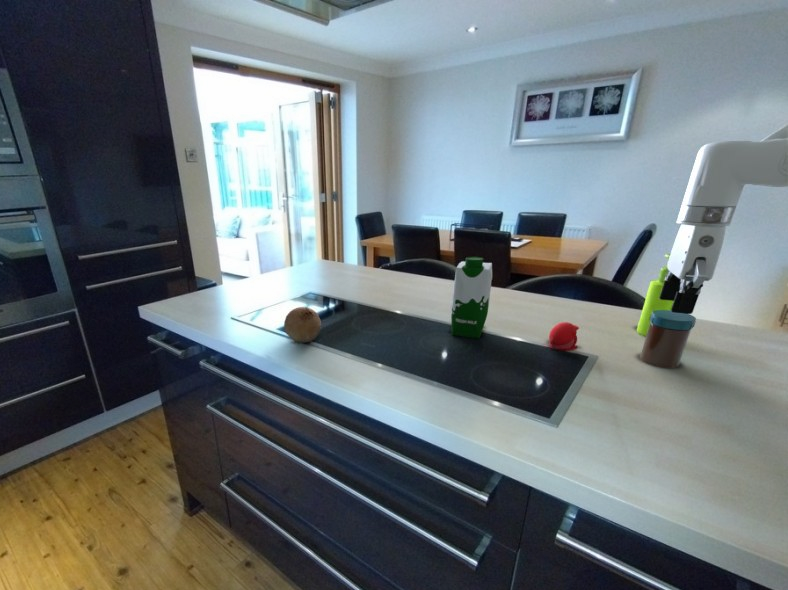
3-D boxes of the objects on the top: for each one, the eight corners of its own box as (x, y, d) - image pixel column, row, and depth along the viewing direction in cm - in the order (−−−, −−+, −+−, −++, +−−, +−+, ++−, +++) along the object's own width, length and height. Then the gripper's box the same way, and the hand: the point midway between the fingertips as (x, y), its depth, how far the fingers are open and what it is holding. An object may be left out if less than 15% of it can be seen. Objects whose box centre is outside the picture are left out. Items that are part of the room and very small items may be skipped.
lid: (686, 320, 81) (689, 312, 80) (698, 332, 75) (701, 323, 75) (646, 316, 84) (648, 308, 83) (653, 327, 78) (656, 318, 78)
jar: (672, 360, 85) (688, 314, 81) (681, 373, 79) (698, 325, 75) (636, 355, 87) (649, 310, 83) (642, 367, 82) (656, 320, 78)
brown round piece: (314, 354, 100) (322, 326, 93) (278, 346, 99) (284, 318, 92) (319, 329, 107) (326, 302, 100) (285, 321, 106) (290, 293, 99)
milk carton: (447, 336, 101) (454, 259, 93) (453, 324, 109) (460, 252, 101) (483, 340, 97) (492, 261, 90) (486, 328, 105) (496, 254, 97)
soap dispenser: (675, 338, 95) (702, 256, 88) (644, 337, 96) (668, 256, 89) (661, 329, 101) (685, 252, 93) (631, 328, 102) (653, 252, 94)
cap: (571, 356, 88) (577, 332, 85) (543, 350, 91) (547, 326, 89) (580, 345, 93) (585, 322, 91) (553, 339, 97) (557, 316, 95)
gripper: (753, 222, 63) (714, 322, 70) (713, 212, 77) (684, 296, 84) (694, 220, 66) (662, 317, 73) (666, 211, 80) (642, 292, 87)
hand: (674, 305), depth 78 cm, fingers open, 8 cm apart
